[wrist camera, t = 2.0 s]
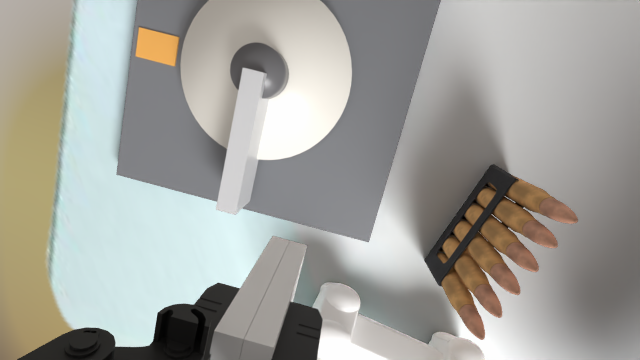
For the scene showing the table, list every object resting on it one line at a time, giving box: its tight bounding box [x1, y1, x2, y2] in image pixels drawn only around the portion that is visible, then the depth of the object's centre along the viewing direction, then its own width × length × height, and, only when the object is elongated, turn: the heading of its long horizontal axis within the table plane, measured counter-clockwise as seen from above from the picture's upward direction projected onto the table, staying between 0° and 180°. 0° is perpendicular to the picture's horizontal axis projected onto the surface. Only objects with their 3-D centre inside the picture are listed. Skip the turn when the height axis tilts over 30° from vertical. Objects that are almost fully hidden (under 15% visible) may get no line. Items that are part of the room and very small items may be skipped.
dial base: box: [116, 0, 441, 242], centre depth 31 cm, size 24×24×2 cm
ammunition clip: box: [425, 164, 578, 340], centre depth 27 cm, size 11×2×12 cm, turn 151°
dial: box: [180, 0, 352, 215], centre depth 28 cm, size 18×14×4 cm
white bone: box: [312, 282, 485, 360], centre depth 32 cm, size 15×9×8 cm, turn 67°
